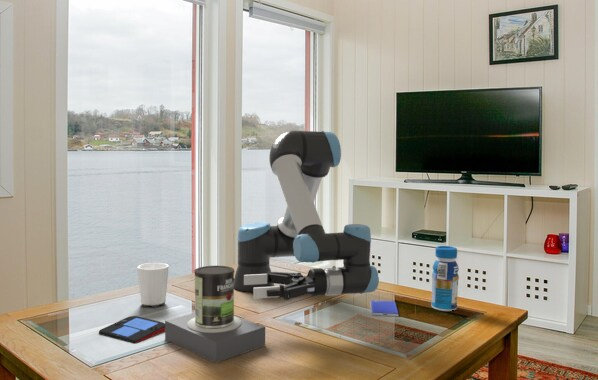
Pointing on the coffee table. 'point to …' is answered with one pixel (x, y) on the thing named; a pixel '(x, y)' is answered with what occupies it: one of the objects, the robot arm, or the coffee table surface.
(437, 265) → the beverage bottle
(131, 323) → the game console
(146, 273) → the cup
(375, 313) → the hard drive
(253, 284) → the robot arm
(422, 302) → the coffee table surface
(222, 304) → the coffee can
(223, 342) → the dome button box
